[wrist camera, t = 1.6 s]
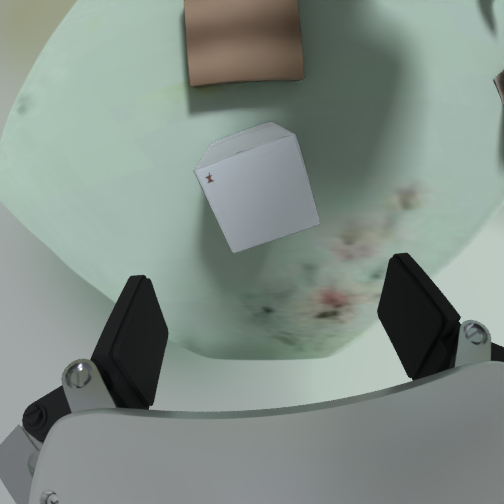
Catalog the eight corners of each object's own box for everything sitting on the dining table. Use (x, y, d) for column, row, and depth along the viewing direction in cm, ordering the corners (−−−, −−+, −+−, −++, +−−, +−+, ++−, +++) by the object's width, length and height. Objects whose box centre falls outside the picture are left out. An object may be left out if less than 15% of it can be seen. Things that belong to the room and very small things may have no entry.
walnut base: (188, -5, 19) (183, -14, 17) (289, -11, 19) (294, -21, 16) (195, 87, 25) (190, 86, 23) (298, 80, 25) (304, 78, 23)
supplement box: (233, 200, 32) (229, 257, 21) (209, 141, 29) (189, 168, 18) (293, 180, 31) (322, 227, 20) (273, 119, 27) (295, 130, 17)
